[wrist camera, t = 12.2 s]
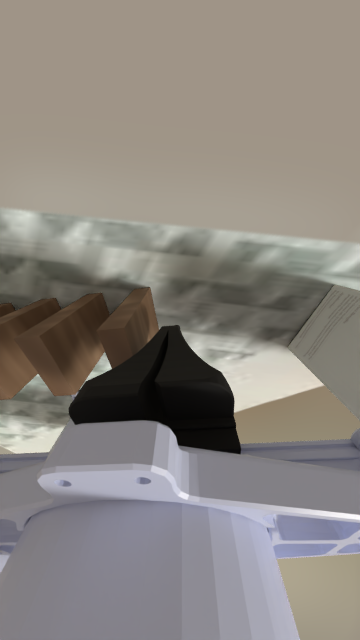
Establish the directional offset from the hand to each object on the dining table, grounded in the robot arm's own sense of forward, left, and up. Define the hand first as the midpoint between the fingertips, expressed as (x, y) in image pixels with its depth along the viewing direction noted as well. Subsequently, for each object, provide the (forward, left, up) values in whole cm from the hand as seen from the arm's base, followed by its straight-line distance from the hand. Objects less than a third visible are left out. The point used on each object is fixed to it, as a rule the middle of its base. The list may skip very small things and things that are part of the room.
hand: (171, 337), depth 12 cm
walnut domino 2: (-2, +8, -5) cm, 10 cm away
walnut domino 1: (-3, +13, -5) cm, 14 cm away
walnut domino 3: (-1, +3, -5) cm, 6 cm away
